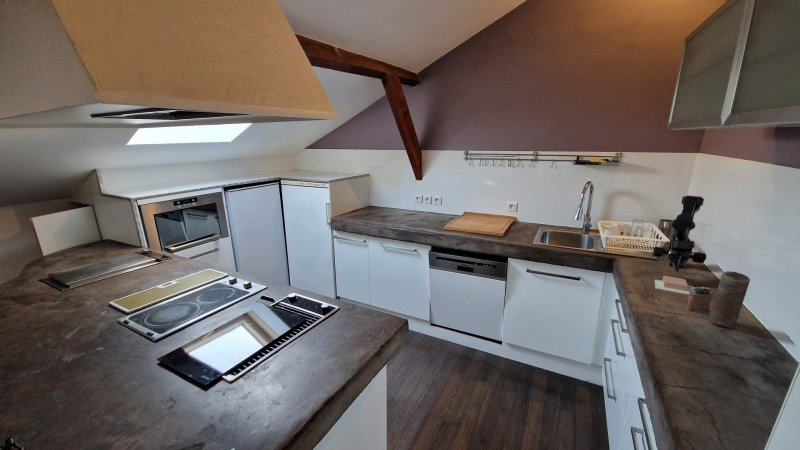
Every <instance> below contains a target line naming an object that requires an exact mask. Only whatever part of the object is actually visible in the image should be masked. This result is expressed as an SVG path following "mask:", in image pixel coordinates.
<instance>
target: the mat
mask: <svg viewBox="0 0 800 450" xmlns="http://www.w3.org/2000/svg"><path fill="white" fill-rule="evenodd" d="M654 286H655V290H656V289H657V290H661V291H667V292H671V293H677V294H682V295H687V296H689V295H690V294H689V292H691V291H693V288H694V286H693V285H688V284H687V286H688V287H687V291H682V290H677V289H671V288H666V287H664V286H663V280H661V279H654Z"/></svg>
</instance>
